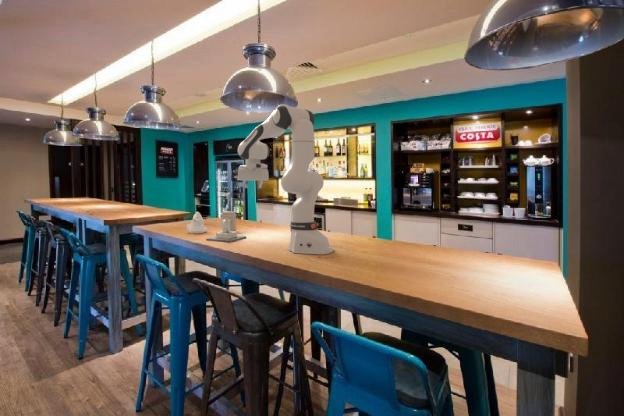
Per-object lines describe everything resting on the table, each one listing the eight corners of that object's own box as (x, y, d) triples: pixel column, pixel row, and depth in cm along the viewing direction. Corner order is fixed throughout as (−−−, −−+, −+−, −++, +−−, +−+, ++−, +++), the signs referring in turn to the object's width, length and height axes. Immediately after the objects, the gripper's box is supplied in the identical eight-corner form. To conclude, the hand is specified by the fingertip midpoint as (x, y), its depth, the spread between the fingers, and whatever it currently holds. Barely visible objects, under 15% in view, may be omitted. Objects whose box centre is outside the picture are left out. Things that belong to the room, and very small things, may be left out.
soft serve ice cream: (210, 232, 236) (214, 212, 233) (198, 238, 222) (202, 217, 219) (194, 227, 238) (197, 207, 235) (181, 232, 224) (184, 211, 221)
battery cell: (232, 236, 205) (231, 218, 204) (227, 238, 201) (227, 219, 200) (225, 236, 207) (225, 218, 206) (221, 237, 203) (220, 218, 202)
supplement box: (236, 230, 235) (236, 211, 234) (234, 232, 231) (234, 211, 229) (224, 230, 236) (224, 211, 235) (221, 231, 231) (221, 211, 230)
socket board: (246, 237, 209) (246, 231, 208) (229, 242, 194) (229, 235, 193) (223, 235, 215) (223, 229, 214) (206, 240, 200) (206, 233, 200)
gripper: (235, 165, 217) (235, 187, 218) (264, 165, 209) (264, 188, 210) (241, 165, 223) (241, 187, 224) (269, 165, 215) (269, 188, 216)
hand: (252, 188), depth 217 cm, fingers open, 8 cm apart
